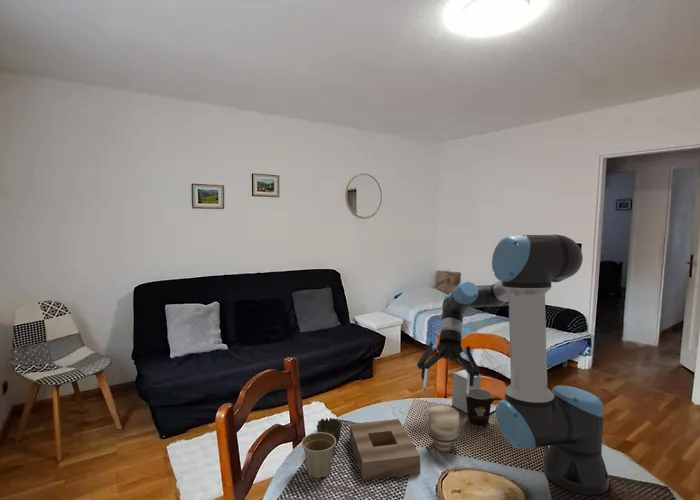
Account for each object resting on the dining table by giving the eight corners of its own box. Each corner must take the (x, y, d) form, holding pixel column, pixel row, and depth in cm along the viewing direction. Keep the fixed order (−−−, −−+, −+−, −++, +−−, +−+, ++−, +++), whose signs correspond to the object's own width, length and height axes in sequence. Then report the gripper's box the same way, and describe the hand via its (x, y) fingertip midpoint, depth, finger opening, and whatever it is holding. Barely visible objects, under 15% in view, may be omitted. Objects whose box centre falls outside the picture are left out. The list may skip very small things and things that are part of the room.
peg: (464, 454, 114) (464, 418, 113) (435, 458, 112) (435, 421, 111) (450, 438, 123) (451, 404, 122) (423, 441, 121) (423, 407, 120)
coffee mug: (461, 423, 131) (461, 395, 131) (469, 413, 138) (470, 386, 138) (497, 434, 125) (497, 403, 124) (503, 422, 132) (504, 394, 131)
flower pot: (304, 460, 112) (304, 431, 111) (337, 461, 111) (337, 432, 111) (299, 482, 102) (298, 451, 102) (335, 483, 102) (334, 451, 101)
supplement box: (466, 413, 138) (466, 379, 137) (451, 405, 145) (451, 372, 144) (481, 408, 142) (481, 374, 141) (465, 400, 148) (466, 368, 147)
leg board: (420, 473, 106) (420, 455, 105) (362, 480, 103) (362, 462, 103) (398, 433, 125) (398, 418, 125) (349, 439, 123) (349, 423, 122)
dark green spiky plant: (338, 457, 113) (338, 431, 112) (314, 454, 114) (313, 428, 114) (343, 443, 120) (343, 418, 120) (320, 440, 122) (320, 416, 121)
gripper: (487, 342, 137) (486, 402, 124) (417, 335, 145) (409, 391, 132) (488, 331, 131) (486, 393, 118) (414, 325, 140) (405, 382, 127)
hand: (445, 392), depth 125 cm, fingers open, 13 cm apart
